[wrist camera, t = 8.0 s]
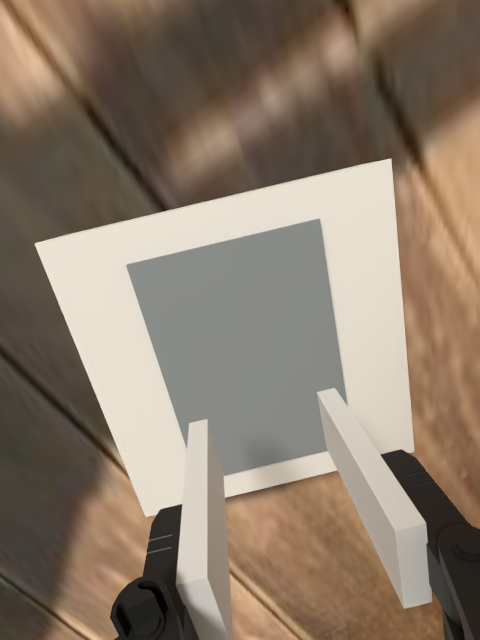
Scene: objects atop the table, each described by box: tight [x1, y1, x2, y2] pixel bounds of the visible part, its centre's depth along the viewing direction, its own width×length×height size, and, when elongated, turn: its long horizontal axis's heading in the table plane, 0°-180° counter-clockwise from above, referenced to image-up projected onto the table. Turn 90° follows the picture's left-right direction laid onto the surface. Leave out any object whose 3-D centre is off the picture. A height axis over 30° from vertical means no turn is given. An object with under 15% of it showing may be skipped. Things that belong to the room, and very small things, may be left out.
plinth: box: [35, 159, 414, 517], centre depth 23 cm, size 18×18×4 cm
